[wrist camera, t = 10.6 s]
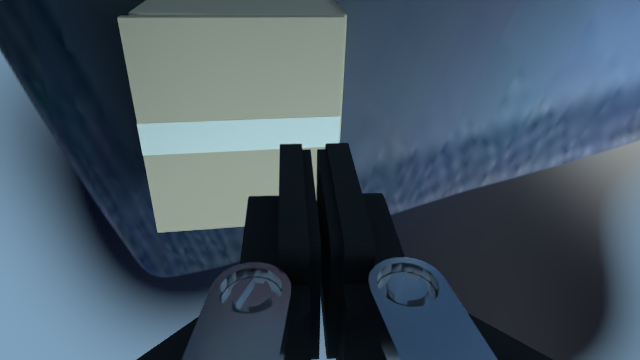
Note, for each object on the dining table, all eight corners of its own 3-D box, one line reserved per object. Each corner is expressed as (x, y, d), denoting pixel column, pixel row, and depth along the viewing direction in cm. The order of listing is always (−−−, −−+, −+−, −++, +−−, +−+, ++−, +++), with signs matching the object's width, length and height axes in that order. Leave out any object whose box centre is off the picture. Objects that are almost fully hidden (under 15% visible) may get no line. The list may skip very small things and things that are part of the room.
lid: (342, 15, 30) (345, 17, 29) (332, 214, 38) (334, 220, 37) (119, 15, 28) (116, 18, 27) (159, 227, 36) (157, 233, 35)
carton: (331, -4, 37) (347, 15, 30) (324, 168, 45) (335, 213, 38) (154, -6, 35) (128, 12, 28) (180, 172, 43) (164, 220, 36)
